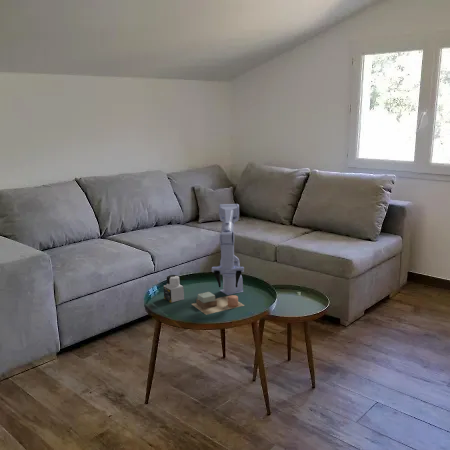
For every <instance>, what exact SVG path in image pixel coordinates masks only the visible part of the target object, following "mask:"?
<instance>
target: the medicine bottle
mask: <svg viewBox="0 0 450 450" xmlns="http://www.w3.org/2000/svg"><path fill="white" fill-rule="evenodd" d="M184 291H185V290H184V286H183V285H181V284H180V276H179V275H177V274H170V275H168V276H166V284H165V285H163V299H164V300H166V301H168V302H169V303H175V302H179V301H182V300H183V301H184V300H185V292H184Z"/></svg>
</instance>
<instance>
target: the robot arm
mask: <svg viewBox="0 0 450 450" xmlns="http://www.w3.org/2000/svg"><path fill="white" fill-rule="evenodd" d="M218 216H219V220H220V221H221V222H222V223H221V226H220V227H221V228H220V233H219V247H220V260H219V265H218V266H212V267H211V272H212V273H213V276H214V277H215V279H216V280H217V284H218V288H221V287H222V289H219V291H220V292H221V293H223V294H225V295H226V296H231V295H234V294H239V293H243V292H245V291H244V285H243V284H244V283H243V282H244V281H243V280H244V279H243V276H242V273H244V272H245V267H244V266H241V264H240V259H239V257H237V255H235V224H236V223H237V222H238V221H239V220H240V204H238V203H220V204H219V205H218ZM221 276H222V282H221ZM221 283H222V285H221Z"/></svg>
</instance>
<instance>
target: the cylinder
mask: <svg viewBox="0 0 450 450" xmlns="http://www.w3.org/2000/svg"><path fill="white" fill-rule="evenodd" d="M227 296H228V306H229V307H236V308H238V307H237V306H238V302H239V296H238V295H234V294H231V295H227Z"/></svg>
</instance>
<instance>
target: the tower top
mask: <svg viewBox="0 0 450 450" xmlns="http://www.w3.org/2000/svg"><path fill="white" fill-rule="evenodd" d="M197 299H198V300H200V301H201V302H203V303H207V302H211V301H215V299H216V295H215V294H214V293H212V292H210V291H206V292H202V293H197Z"/></svg>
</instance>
